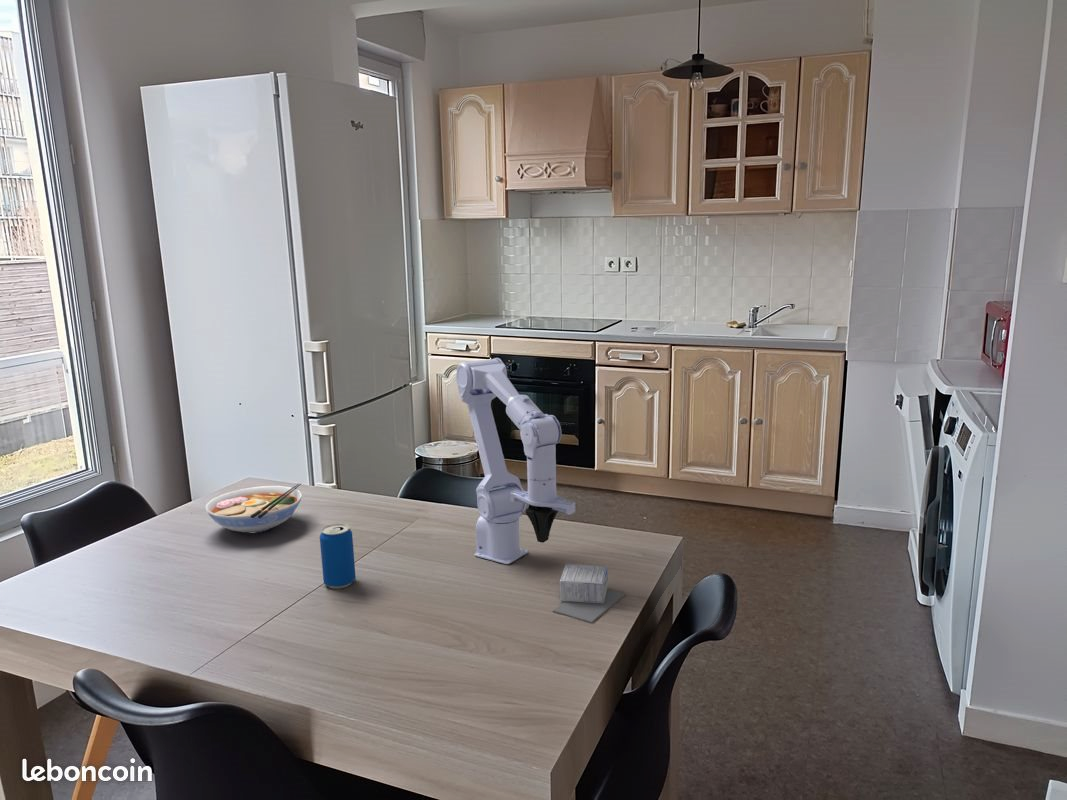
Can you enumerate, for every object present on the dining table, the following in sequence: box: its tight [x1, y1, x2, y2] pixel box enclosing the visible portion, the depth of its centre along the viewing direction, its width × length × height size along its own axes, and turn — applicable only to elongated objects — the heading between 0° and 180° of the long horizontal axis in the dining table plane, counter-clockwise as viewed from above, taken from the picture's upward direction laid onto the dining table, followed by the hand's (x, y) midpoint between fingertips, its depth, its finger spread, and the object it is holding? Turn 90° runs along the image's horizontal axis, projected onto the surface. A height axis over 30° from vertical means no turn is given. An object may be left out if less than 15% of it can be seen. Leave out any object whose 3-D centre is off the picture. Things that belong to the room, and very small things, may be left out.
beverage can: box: [319, 523, 357, 590], centre depth 158 cm, size 6×6×12 cm
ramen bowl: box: [204, 483, 303, 533], centre depth 190 cm, size 25×23×8 cm
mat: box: [552, 588, 625, 624], centre depth 148 cm, size 8×13×1 cm, turn 146°
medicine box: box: [559, 563, 609, 604], centre depth 150 cm, size 8×4×9 cm
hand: (542, 540), depth 156 cm, fingers closed
